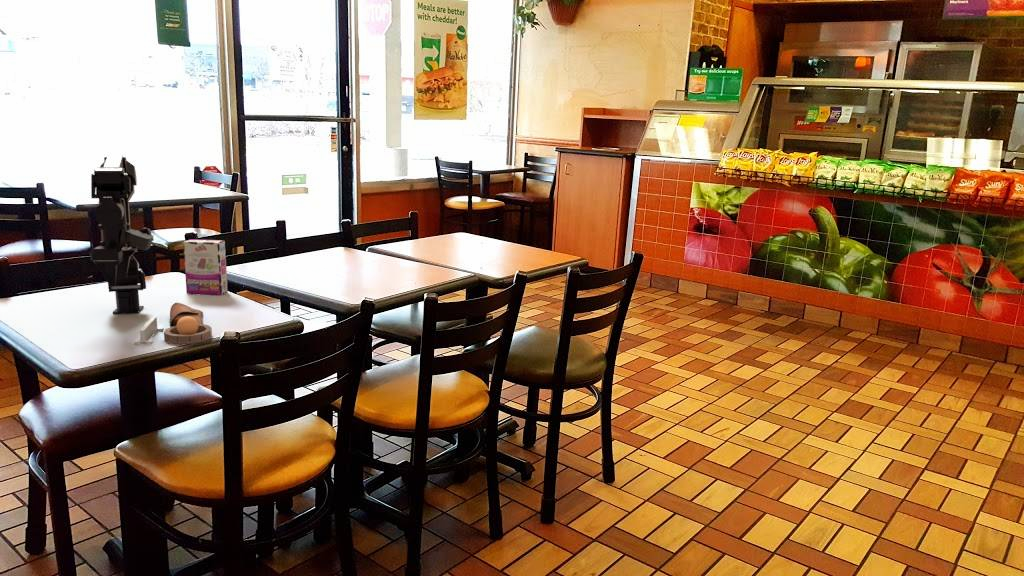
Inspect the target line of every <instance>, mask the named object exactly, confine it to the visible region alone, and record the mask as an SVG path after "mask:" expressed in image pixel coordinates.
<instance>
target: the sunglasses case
mask: <svg viewBox="0 0 1024 576" xmlns="http://www.w3.org/2000/svg"><path fill="white" fill-rule="evenodd" d="M203 314H204V312H203V310H200V309H196V308H192V307H191V306H189V305H186V304H184V303H180V302H175V303H173V304H172V305H171V306H170V309H169V328H170V327H173V326H176V325H177V322H178V321H179V319H181V318H182V317H185V316H191V317H193V318H195V319H196V320H197V322H198V324H204V322H203Z"/></svg>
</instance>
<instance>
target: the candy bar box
mask: <svg viewBox="0 0 1024 576" xmlns="http://www.w3.org/2000/svg"><path fill="white" fill-rule="evenodd" d="M182 247H183V248H182V249H183V257H184V260H183V261H184V271H185V272H184V273H185V274H184V275H185V288H186V295H197V294H200V296H201V295H202V296H223V295H225V294H227V293H228V292H229V291H228V288H229V287H228V274H227V255H226V253H227V252H226V241H225V240H220V239H219V240H218V239H217V240H216V239H188V240H187V239H186V240H184V241H183V242H182Z"/></svg>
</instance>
